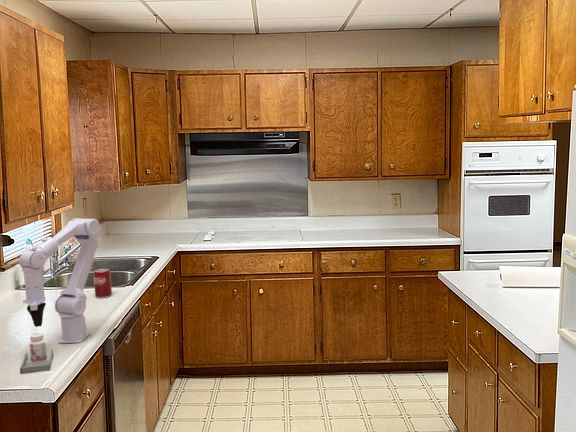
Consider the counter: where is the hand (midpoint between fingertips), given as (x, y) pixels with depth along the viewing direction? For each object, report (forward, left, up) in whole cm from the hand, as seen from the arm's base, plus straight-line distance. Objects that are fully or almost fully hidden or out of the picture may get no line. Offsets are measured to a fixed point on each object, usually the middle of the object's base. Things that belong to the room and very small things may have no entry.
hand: (38, 325), depth 221 cm
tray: (+11, +3, -9) cm, 15 cm away
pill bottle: (+7, +2, -10) cm, 12 cm away
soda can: (-74, -1, -10) cm, 74 cm away
